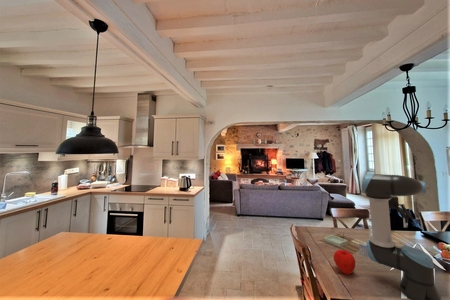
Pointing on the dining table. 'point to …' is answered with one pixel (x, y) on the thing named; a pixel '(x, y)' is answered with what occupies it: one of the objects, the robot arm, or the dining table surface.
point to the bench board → (347, 247)
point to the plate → (356, 242)
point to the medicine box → (363, 249)
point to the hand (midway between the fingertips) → (393, 224)
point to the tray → (335, 240)
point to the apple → (344, 261)
